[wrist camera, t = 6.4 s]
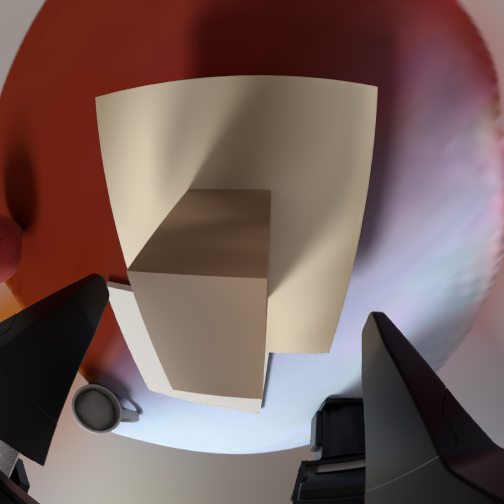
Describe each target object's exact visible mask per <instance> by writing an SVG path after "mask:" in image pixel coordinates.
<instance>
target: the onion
mask: <svg viewBox="0 0 504 504" xmlns="http://www.w3.org/2000/svg"><path fill="white" fill-rule="evenodd" d="M22 236H23V230H22V228H21V226H20V225H19V224H17V223H16V222H14V221H13V220H11V219H10V218H8V217H6V216H3V215H0V283H1V282H4V281H6V280H8V279H9V278H10V277H12V275H13V274H14V273H15V271H16V270H17V268H18V266H19V263H20V261H21V256H22Z"/></svg>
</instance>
